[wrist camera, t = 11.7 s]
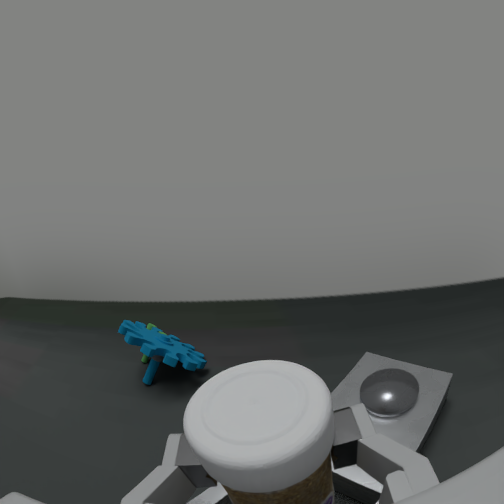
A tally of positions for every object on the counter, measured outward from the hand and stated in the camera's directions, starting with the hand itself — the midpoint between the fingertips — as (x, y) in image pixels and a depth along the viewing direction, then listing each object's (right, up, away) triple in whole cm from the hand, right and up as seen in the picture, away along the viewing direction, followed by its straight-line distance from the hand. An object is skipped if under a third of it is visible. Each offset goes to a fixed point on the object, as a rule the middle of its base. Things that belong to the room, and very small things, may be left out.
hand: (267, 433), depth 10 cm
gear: (-10, -7, +22) cm, 25 cm away
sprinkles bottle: (+2, -10, +2) cm, 11 cm away
